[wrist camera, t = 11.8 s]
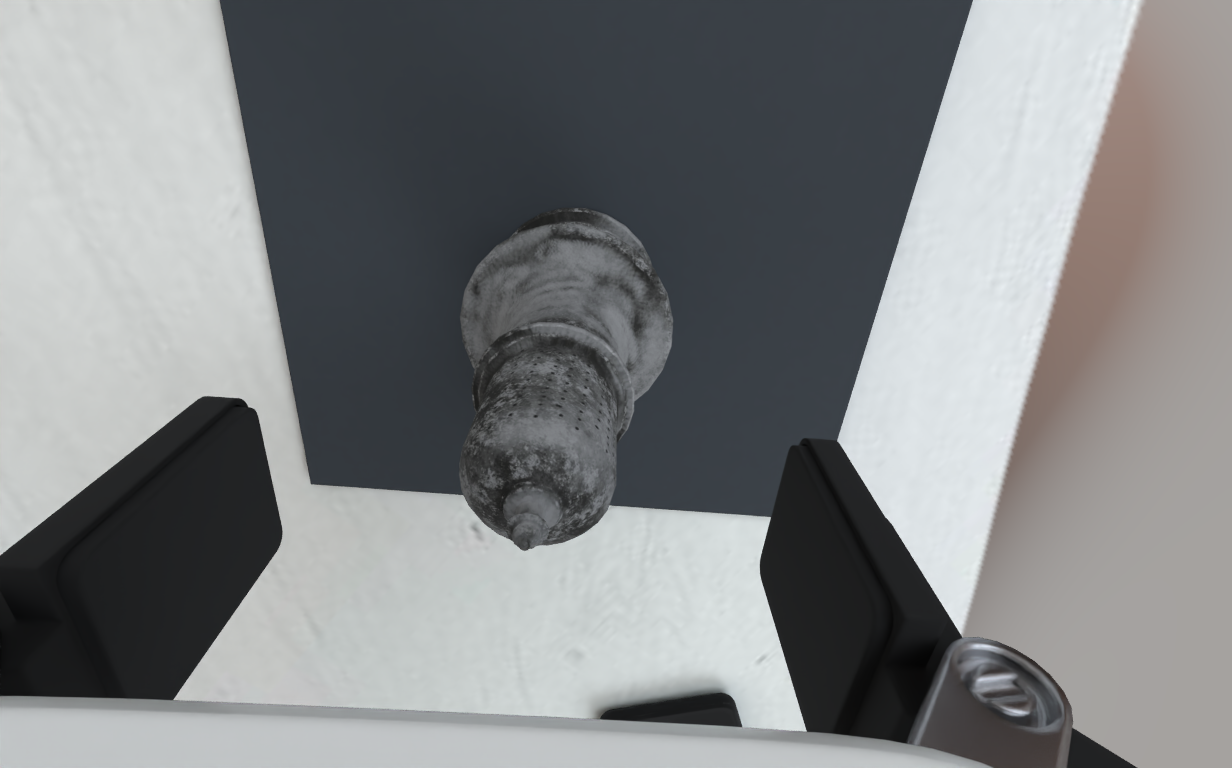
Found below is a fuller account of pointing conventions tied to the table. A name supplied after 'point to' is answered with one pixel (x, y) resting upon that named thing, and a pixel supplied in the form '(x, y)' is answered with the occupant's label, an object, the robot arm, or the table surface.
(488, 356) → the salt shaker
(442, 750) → the robot arm
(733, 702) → the smartphone
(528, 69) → the mat
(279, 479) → the table surface
